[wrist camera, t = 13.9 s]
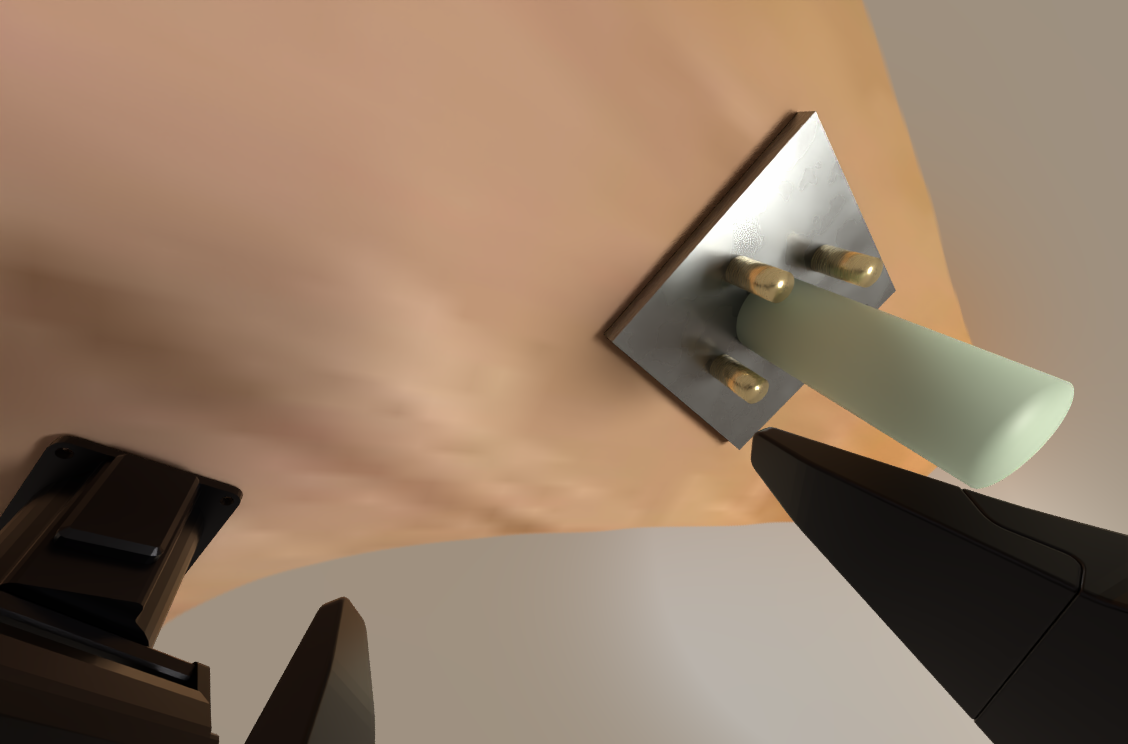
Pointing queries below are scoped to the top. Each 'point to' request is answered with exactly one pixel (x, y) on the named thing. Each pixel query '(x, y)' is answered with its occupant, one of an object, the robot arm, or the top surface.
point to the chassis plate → (752, 280)
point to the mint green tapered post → (910, 381)
